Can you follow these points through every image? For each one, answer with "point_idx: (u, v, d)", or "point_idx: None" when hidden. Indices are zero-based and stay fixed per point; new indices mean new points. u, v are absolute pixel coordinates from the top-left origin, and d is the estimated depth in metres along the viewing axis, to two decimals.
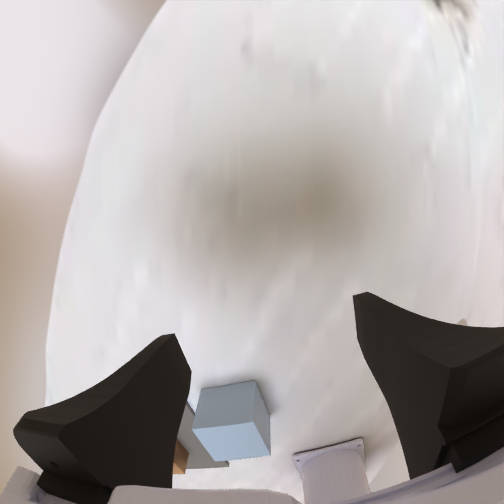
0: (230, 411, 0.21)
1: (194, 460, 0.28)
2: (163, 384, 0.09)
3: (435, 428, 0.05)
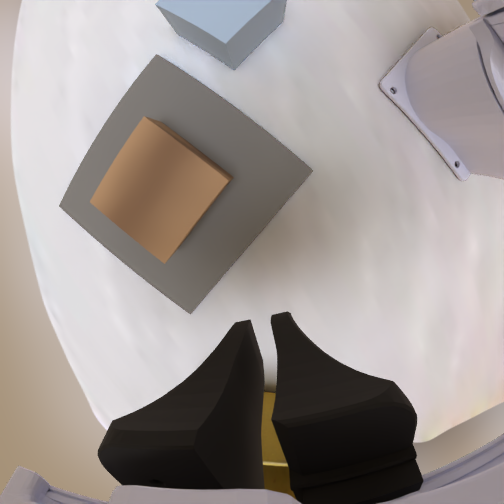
0: None
1: (251, 193, 0.19)
2: (250, 373, 0.09)
3: (291, 469, 0.05)
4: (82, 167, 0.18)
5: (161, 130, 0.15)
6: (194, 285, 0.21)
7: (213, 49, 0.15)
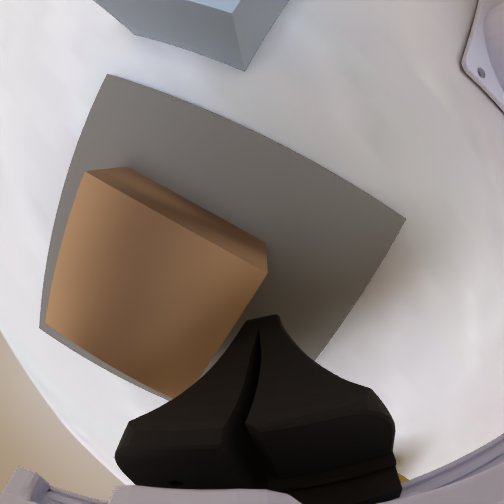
0: None
1: (320, 275, 0.11)
2: None
3: None
4: (49, 275, 0.12)
5: (120, 194, 0.08)
6: None
7: (201, 39, 0.08)
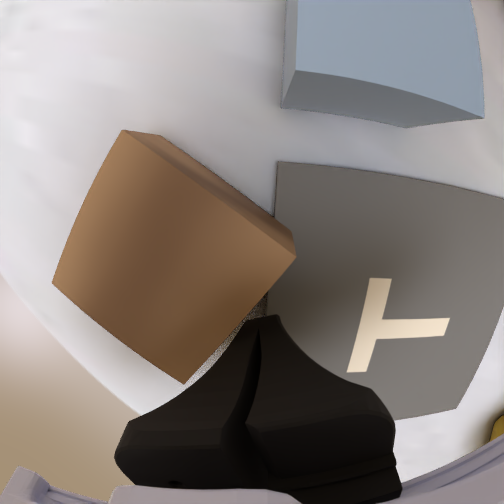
0: None
1: (492, 272, 0.11)
2: None
3: None
4: None
5: (156, 156, 0.08)
6: (457, 387, 0.13)
7: (395, 115, 0.08)
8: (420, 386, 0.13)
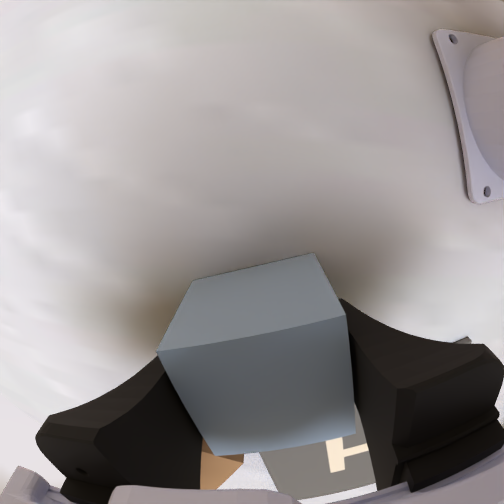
0: None
1: None
2: None
3: (391, 445, 0.05)
4: (278, 483, 0.16)
5: None
6: None
7: None
8: None
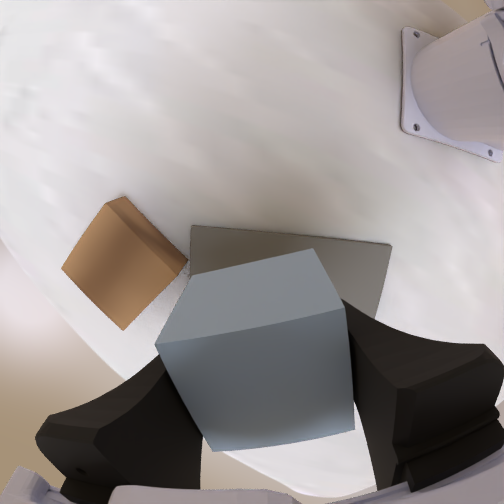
0: None
1: (354, 294, 0.19)
2: None
3: (391, 445, 0.05)
4: None
5: (120, 220, 0.16)
6: None
7: None
8: None
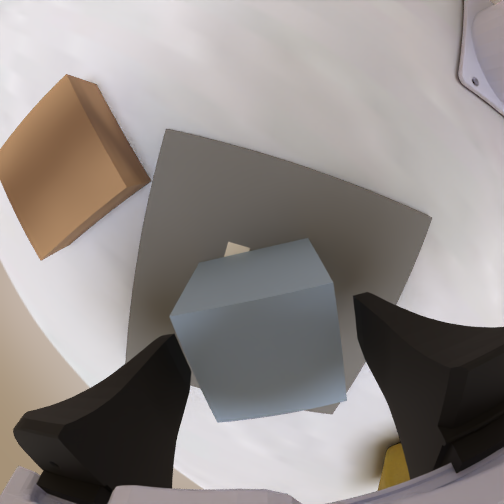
0: None
1: (374, 273, 0.14)
2: (163, 385, 0.09)
3: (435, 428, 0.05)
4: (134, 315, 0.15)
5: (76, 97, 0.09)
6: None
7: None
8: None
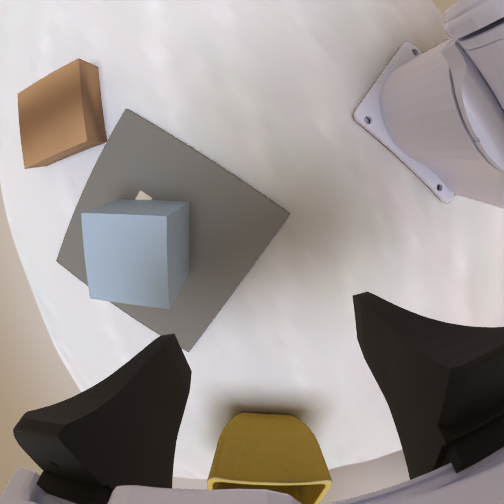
0: None
1: (232, 242, 0.20)
2: (163, 384, 0.09)
3: (435, 428, 0.05)
4: (72, 225, 0.20)
5: (79, 76, 0.14)
6: (188, 327, 0.22)
7: None
8: None
